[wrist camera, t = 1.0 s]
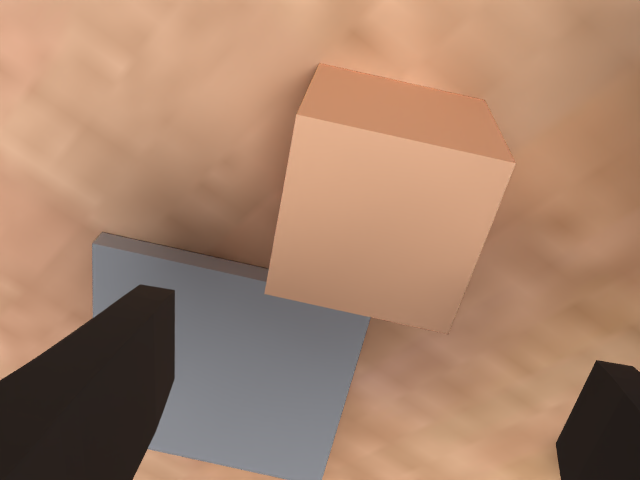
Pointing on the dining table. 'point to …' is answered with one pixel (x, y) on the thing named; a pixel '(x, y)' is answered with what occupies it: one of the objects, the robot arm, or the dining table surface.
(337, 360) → the plate
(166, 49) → the dining table surface
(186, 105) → the dining table surface
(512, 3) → the dining table surface
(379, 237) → the terracotta cube
